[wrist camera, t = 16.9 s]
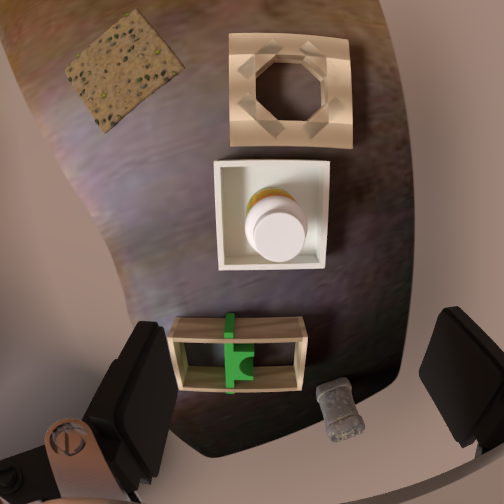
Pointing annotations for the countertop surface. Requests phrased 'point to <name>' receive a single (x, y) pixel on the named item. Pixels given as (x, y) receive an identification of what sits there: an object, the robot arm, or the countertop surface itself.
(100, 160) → the countertop surface
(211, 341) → the parts corral
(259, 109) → the plate
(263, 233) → the supplement bottle
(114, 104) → the speckled tile
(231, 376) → the pipe clamp
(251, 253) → the tray
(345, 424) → the stone
